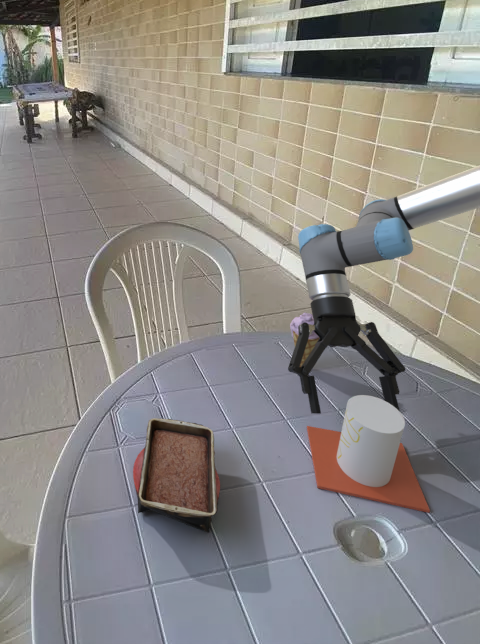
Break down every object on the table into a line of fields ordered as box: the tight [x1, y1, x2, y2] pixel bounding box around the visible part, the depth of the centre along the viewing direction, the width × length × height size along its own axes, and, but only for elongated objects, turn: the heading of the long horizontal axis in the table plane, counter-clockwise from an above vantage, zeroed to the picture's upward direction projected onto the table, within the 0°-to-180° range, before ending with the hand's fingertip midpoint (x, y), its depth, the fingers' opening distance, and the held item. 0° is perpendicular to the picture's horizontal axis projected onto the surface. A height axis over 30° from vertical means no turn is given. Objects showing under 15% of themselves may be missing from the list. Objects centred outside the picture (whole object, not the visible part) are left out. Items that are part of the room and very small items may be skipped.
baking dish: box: [132, 417, 221, 533], centre depth 71 cm, size 14×18×10 cm
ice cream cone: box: [289, 311, 319, 367], centre depth 96 cm, size 7×6×15 cm
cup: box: [337, 394, 406, 487], centre depth 72 cm, size 8×8×12 cm
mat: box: [306, 425, 431, 514], centre depth 75 cm, size 16×13×1 cm
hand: (354, 414), depth 77 cm, fingers open, 13 cm apart
